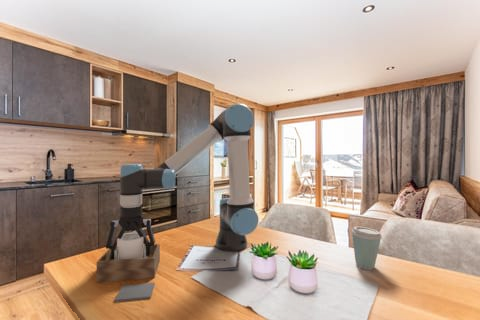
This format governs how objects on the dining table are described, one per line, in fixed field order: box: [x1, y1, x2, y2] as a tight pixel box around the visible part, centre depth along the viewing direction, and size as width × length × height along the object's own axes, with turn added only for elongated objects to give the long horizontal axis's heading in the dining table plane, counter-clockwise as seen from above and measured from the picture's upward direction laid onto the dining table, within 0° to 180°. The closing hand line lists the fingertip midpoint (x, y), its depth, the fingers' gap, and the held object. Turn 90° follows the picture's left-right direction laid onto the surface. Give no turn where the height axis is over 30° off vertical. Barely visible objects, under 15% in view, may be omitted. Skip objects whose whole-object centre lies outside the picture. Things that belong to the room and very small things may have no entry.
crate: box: [96, 243, 161, 284], centre depth 89 cm, size 19×14×7 cm
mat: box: [114, 282, 156, 303], centre depth 75 cm, size 10×8×1 cm
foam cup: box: [116, 231, 144, 260], centre depth 88 cm, size 10×9×13 cm
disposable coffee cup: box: [351, 226, 382, 271], centre depth 94 cm, size 11×11×15 cm
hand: (131, 265), depth 89 cm, fingers closed on foam cup, 9 cm apart
